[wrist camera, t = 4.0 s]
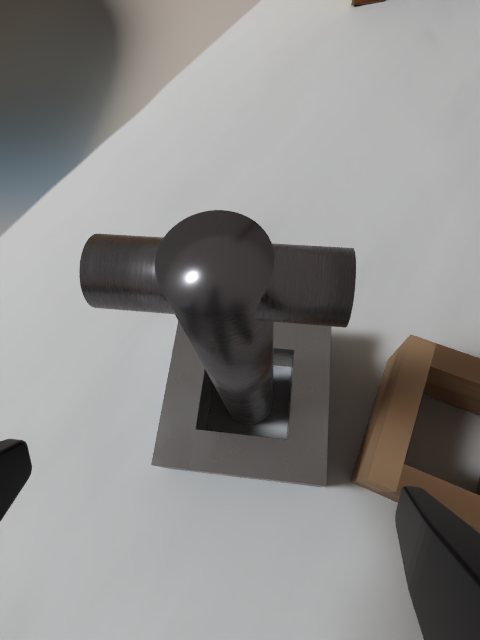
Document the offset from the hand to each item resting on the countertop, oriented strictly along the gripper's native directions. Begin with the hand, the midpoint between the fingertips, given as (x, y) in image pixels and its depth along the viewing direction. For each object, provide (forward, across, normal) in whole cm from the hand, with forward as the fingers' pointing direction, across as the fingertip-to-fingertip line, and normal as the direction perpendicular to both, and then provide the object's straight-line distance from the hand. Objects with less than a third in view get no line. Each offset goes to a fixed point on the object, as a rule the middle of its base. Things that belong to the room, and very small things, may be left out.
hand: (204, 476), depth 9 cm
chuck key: (+12, 0, -6) cm, 13 cm away
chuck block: (+12, 0, -6) cm, 13 cm away
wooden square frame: (+11, +10, -7) cm, 16 cm away
